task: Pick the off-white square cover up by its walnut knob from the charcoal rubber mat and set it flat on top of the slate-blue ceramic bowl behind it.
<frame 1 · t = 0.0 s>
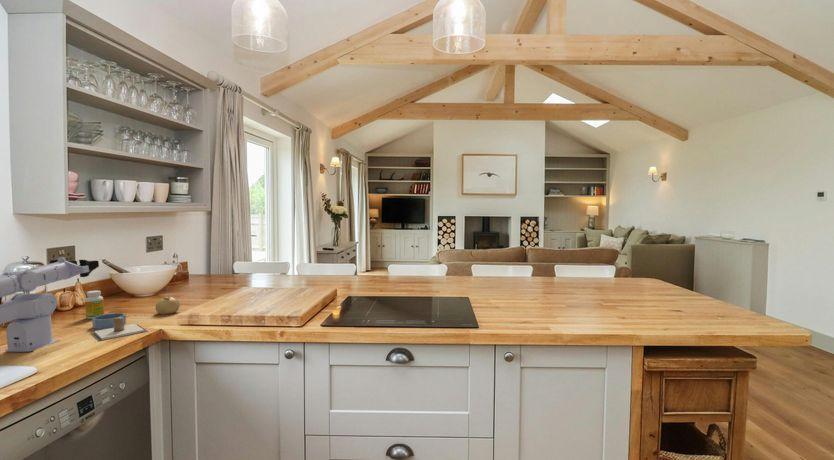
hand: (87, 263, 142), 22 cm above the worktop, tool horizontal, fingers open, 7 cm apart
onion: (168, 314, 160), on the worktop
mat: (119, 333, 135), on the worktop
cover: (119, 332, 135), resting on mat
supplement bottle: (95, 317, 157), on the worktop
bowl: (110, 326, 143), on the worktop
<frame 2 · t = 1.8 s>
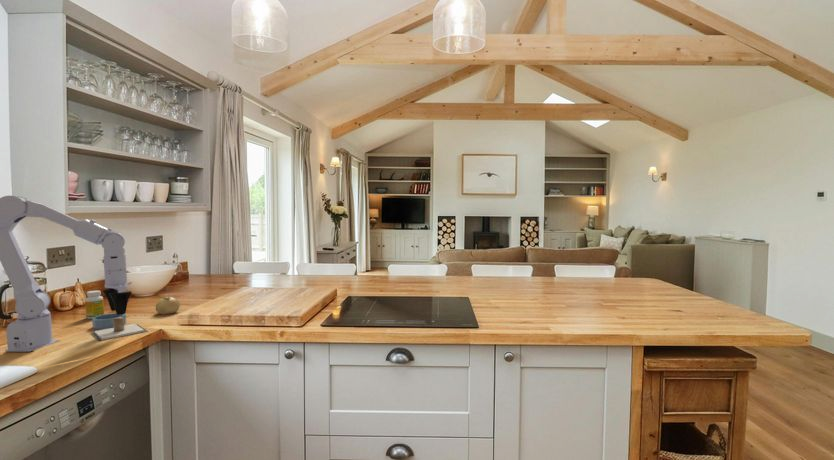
hand: (118, 312, 134), 7 cm above the worktop, tool pointing down, fingers open, 7 cm apart
nothing on the worktop moved.
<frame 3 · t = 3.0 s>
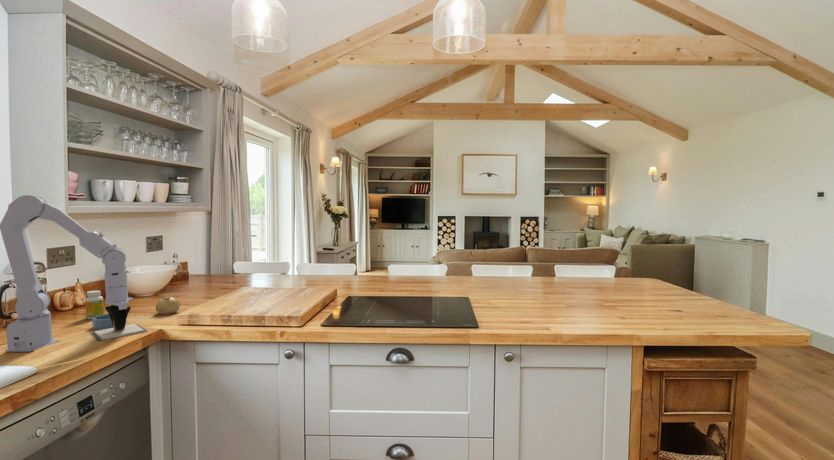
hand: (119, 328, 135), 2 cm above the worktop, tool pointing down, fingers closed on cover, 3 cm apart
cover: (119, 332, 135), resting on mat, touching gripper
everything else where it was.
when the fingers open (6 cm above the worktop, at t = 6.1 s): cover stays where it is, resting on bowl.
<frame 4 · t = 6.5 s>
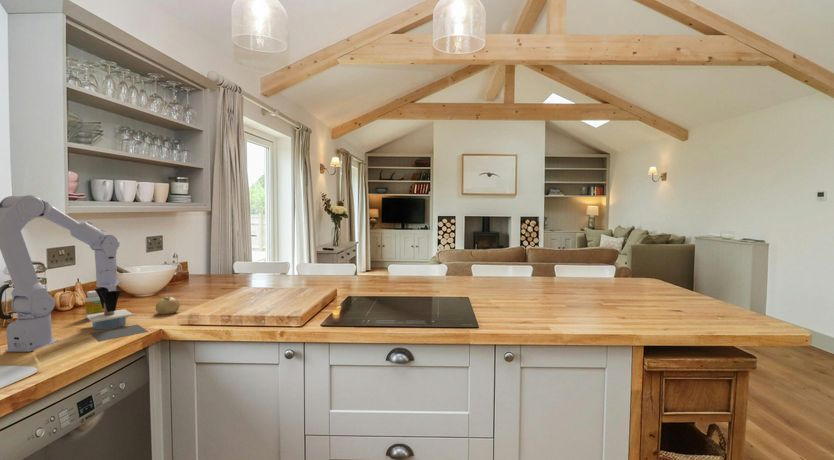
hand: (108, 309, 143), 6 cm above the worktop, tool pointing down, fingers open, 6 cm apart
cover: (109, 316, 143), point 3 cm above the worktop, touching bowl
everything else where it was.
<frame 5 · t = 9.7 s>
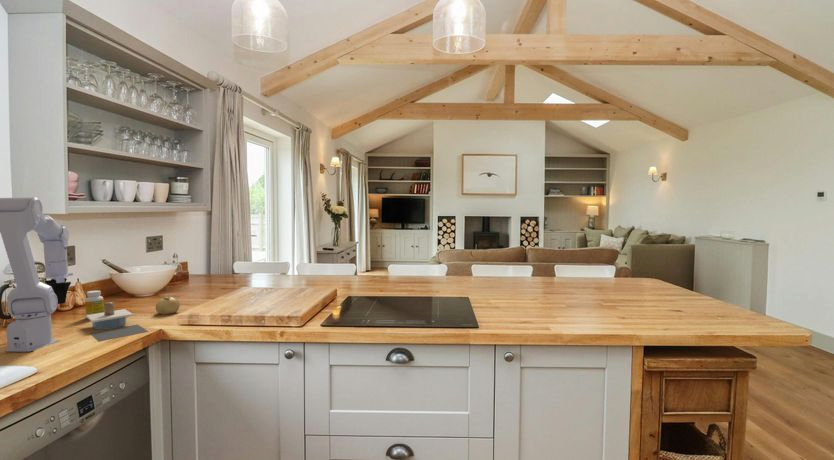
hand: (59, 302, 140), 9 cm above the worktop, tool pointing down, fingers open, 7 cm apart
nothing on the worktop moved.
at the end: cover 0.1 cm off-centre on the bowl, point 3.5 cm above the bowl's base; cover tilted 0°; the gripper is holding nothing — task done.
